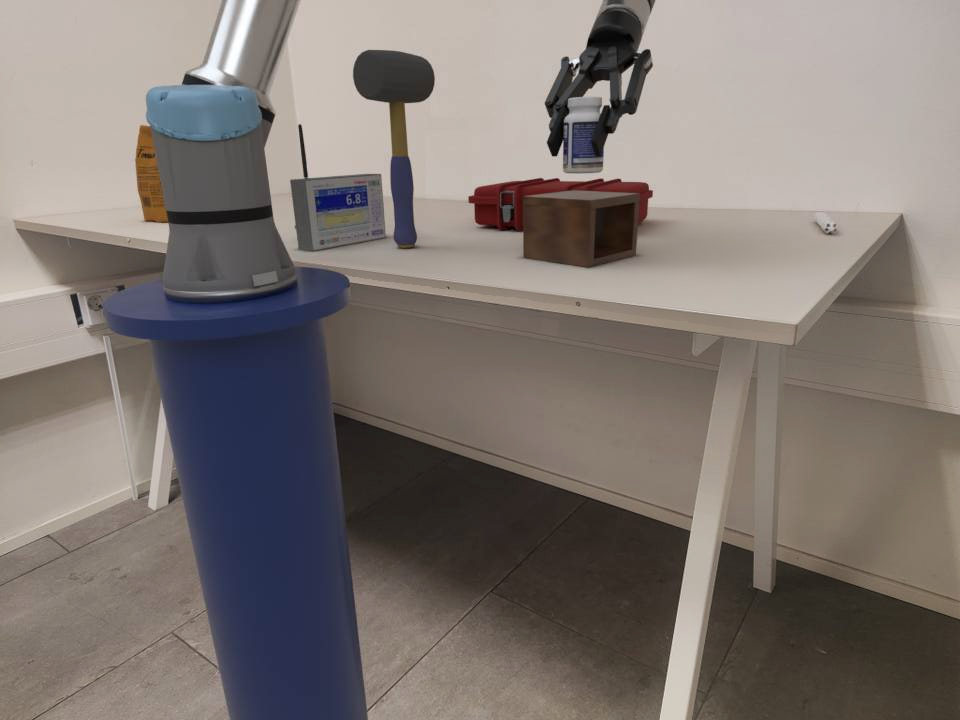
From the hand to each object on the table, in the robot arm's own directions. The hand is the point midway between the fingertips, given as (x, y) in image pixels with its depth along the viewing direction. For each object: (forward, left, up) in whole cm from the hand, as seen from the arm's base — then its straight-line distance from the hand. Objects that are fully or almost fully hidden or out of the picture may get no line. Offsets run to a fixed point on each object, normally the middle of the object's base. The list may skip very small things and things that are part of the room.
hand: (573, 148), depth 85 cm
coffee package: (-109, -18, -16) cm, 111 cm away
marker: (+17, +54, -16) cm, 58 cm away
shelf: (-1, +3, -15) cm, 16 cm away
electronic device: (-43, -12, -16) cm, 47 cm away
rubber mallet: (-29, -8, -16) cm, 34 cm away
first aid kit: (-25, +29, -16) cm, 42 cm away
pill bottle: (-1, +4, -4) cm, 5 cm away
